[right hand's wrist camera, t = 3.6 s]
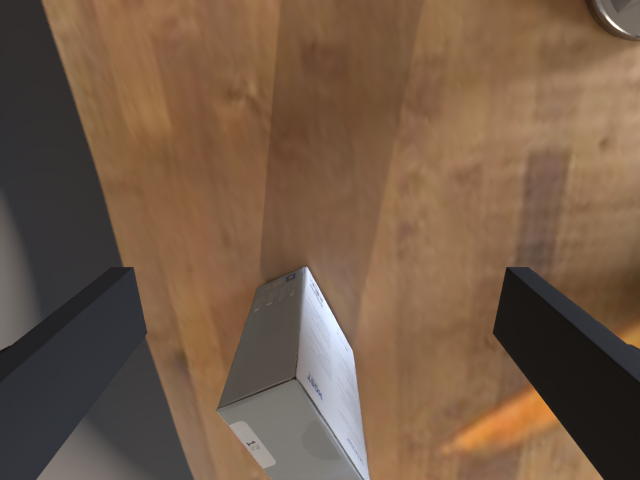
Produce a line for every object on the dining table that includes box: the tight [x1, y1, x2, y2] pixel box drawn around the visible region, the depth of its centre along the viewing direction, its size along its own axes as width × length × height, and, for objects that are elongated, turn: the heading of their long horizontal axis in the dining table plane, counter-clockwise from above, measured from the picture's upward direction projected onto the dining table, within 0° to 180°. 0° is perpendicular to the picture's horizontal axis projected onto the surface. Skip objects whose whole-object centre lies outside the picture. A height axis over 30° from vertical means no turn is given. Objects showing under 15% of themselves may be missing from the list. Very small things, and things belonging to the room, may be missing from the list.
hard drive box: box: [216, 267, 370, 480], centre depth 39 cm, size 16×8×20 cm, turn 26°
